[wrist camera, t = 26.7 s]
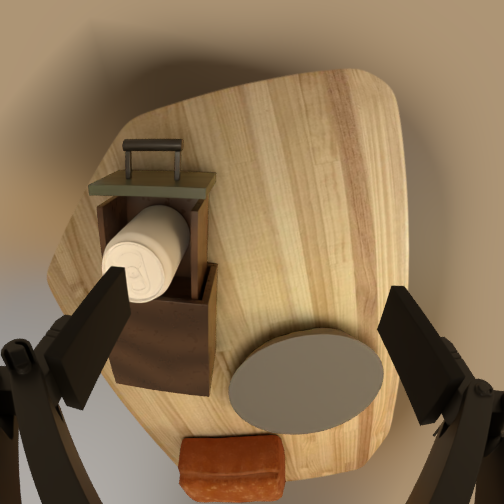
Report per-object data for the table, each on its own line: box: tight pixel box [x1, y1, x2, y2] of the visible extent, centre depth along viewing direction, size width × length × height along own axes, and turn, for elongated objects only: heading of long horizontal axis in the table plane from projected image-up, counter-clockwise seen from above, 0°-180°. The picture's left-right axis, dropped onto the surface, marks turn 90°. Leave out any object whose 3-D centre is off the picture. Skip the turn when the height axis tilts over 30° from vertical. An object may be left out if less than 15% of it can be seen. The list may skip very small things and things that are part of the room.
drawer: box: [88, 139, 216, 301], centre depth 38 cm, size 20×14×9 cm
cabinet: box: [109, 263, 218, 397], centre depth 45 cm, size 17×15×11 cm
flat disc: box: [229, 328, 384, 435], centre depth 54 cm, size 28×28×4 cm
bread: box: [178, 435, 286, 502], centre depth 61 cm, size 17×24×15 cm
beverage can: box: [102, 205, 190, 303], centre depth 36 cm, size 8×8×12 cm
